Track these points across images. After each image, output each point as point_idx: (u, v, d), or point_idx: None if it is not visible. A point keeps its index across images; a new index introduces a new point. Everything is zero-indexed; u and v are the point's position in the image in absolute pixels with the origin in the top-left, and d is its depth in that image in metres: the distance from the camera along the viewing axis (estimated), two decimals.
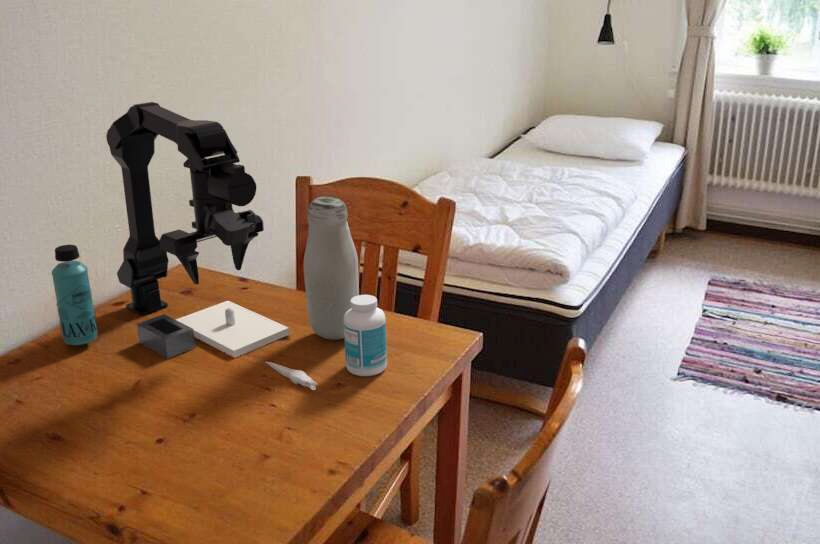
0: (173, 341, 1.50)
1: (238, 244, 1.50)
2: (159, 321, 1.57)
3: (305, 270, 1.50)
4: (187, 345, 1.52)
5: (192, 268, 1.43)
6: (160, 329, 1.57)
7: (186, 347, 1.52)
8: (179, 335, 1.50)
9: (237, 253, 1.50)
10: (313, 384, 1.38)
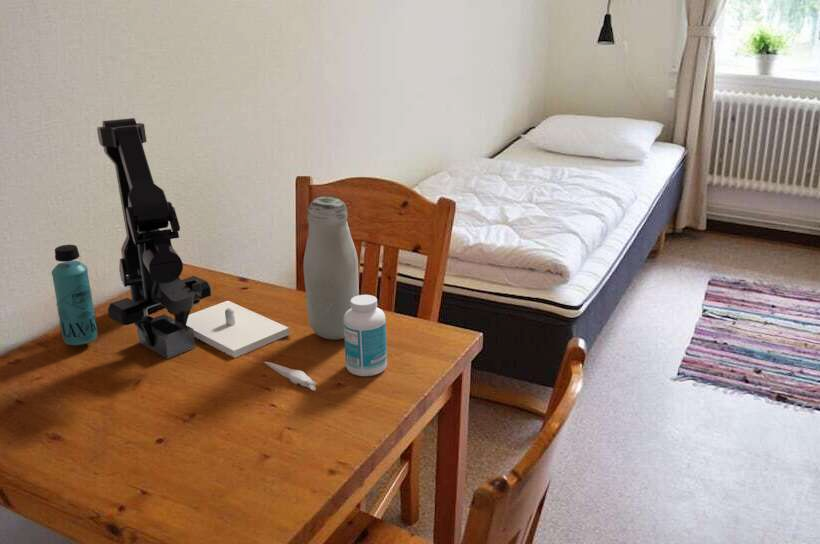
0: (173, 341, 1.50)
1: None
2: (159, 321, 1.57)
3: (305, 270, 1.50)
4: (187, 345, 1.52)
5: (147, 332, 1.50)
6: (160, 329, 1.57)
7: (186, 347, 1.52)
8: (179, 335, 1.50)
9: (179, 319, 1.56)
10: (313, 384, 1.38)
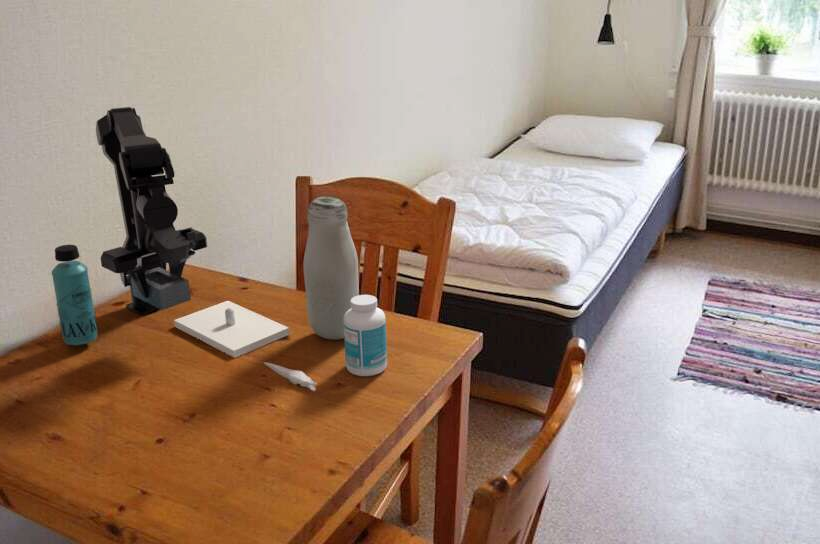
0: (168, 292, 1.46)
1: (175, 262, 1.51)
2: (153, 273, 1.53)
3: (305, 270, 1.50)
4: (182, 297, 1.49)
5: (141, 282, 1.46)
6: (155, 282, 1.54)
7: (181, 299, 1.49)
8: (173, 285, 1.47)
9: (174, 271, 1.52)
10: (313, 384, 1.38)
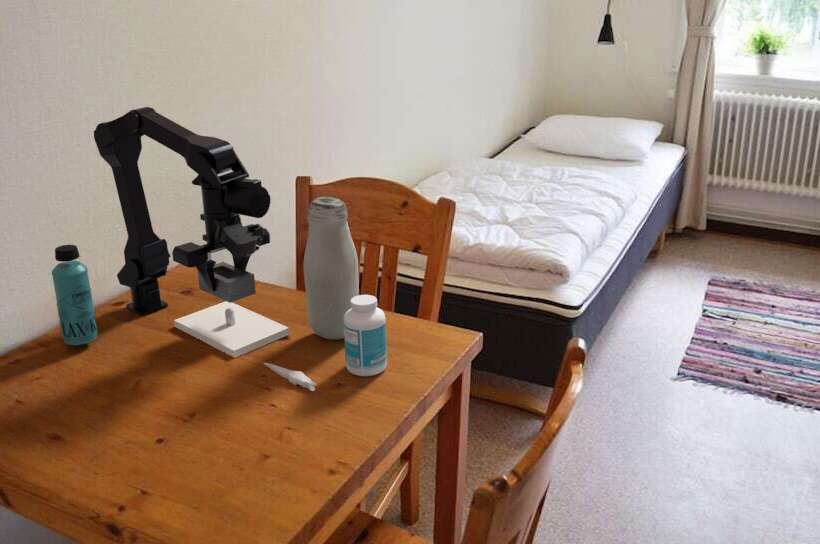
0: (235, 285, 1.52)
1: (240, 257, 1.57)
2: (219, 268, 1.59)
3: (305, 270, 1.50)
4: (248, 290, 1.55)
5: (209, 276, 1.52)
6: (219, 276, 1.60)
7: (247, 292, 1.55)
8: (240, 279, 1.53)
9: (239, 266, 1.58)
10: (312, 385, 1.38)
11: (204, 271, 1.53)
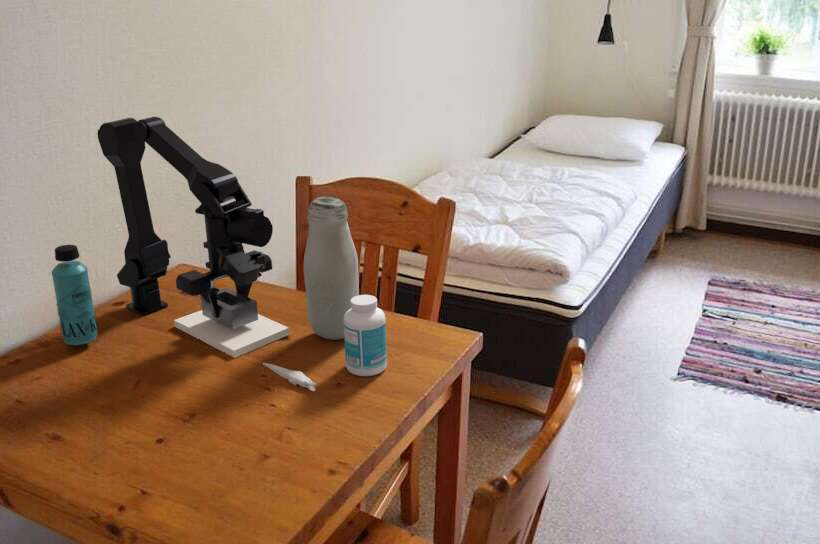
0: (238, 312, 1.54)
1: None
2: (222, 294, 1.61)
3: (305, 270, 1.50)
4: (250, 317, 1.57)
5: (213, 303, 1.54)
6: (222, 302, 1.62)
7: (250, 319, 1.57)
8: (243, 306, 1.55)
9: (241, 292, 1.60)
10: (312, 385, 1.38)
11: (207, 298, 1.55)
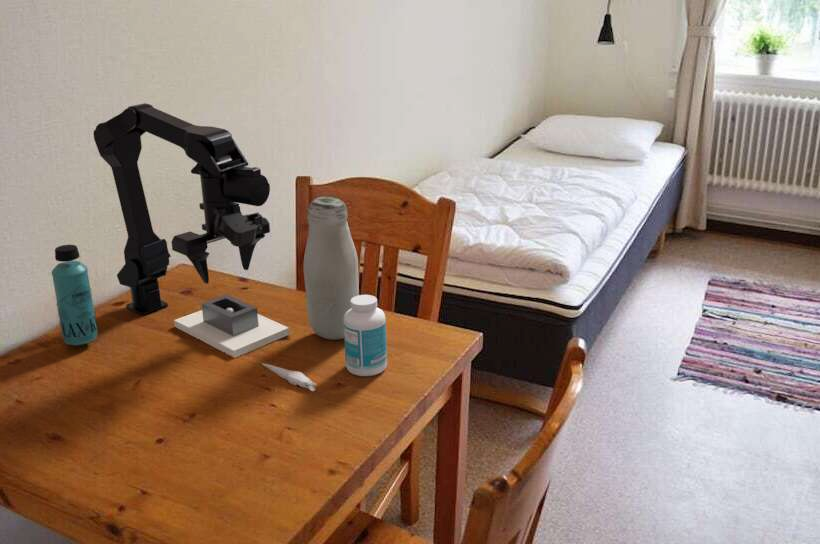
0: (238, 319, 1.55)
1: (246, 245, 1.58)
2: (222, 301, 1.62)
3: (305, 270, 1.50)
4: (251, 323, 1.57)
5: (202, 268, 1.50)
6: (223, 309, 1.62)
7: (250, 325, 1.57)
8: (244, 313, 1.55)
9: (245, 254, 1.58)
10: (312, 385, 1.38)
11: (197, 263, 1.51)
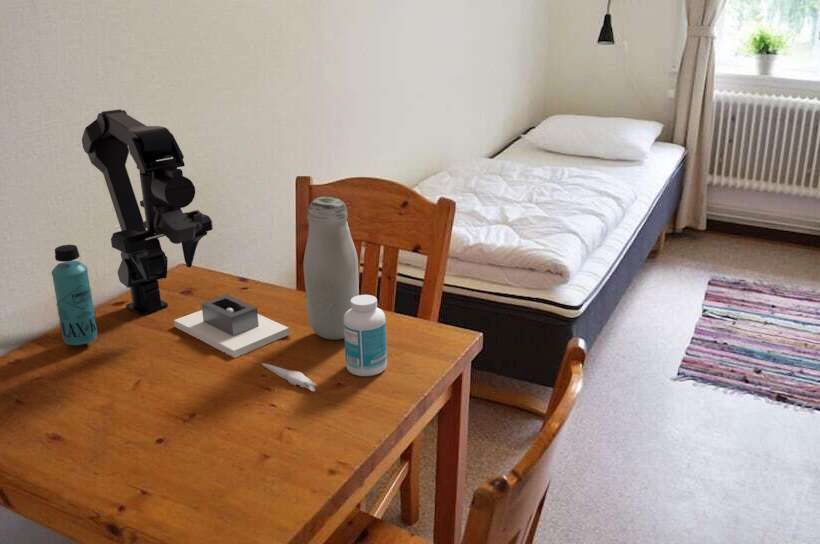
0: (238, 319, 1.55)
1: (188, 242, 1.58)
2: (222, 301, 1.62)
3: (305, 270, 1.50)
4: (251, 323, 1.57)
5: (142, 265, 1.51)
6: (223, 309, 1.62)
7: (250, 325, 1.57)
8: (244, 313, 1.55)
9: (187, 251, 1.59)
10: (312, 385, 1.38)
11: (137, 260, 1.52)
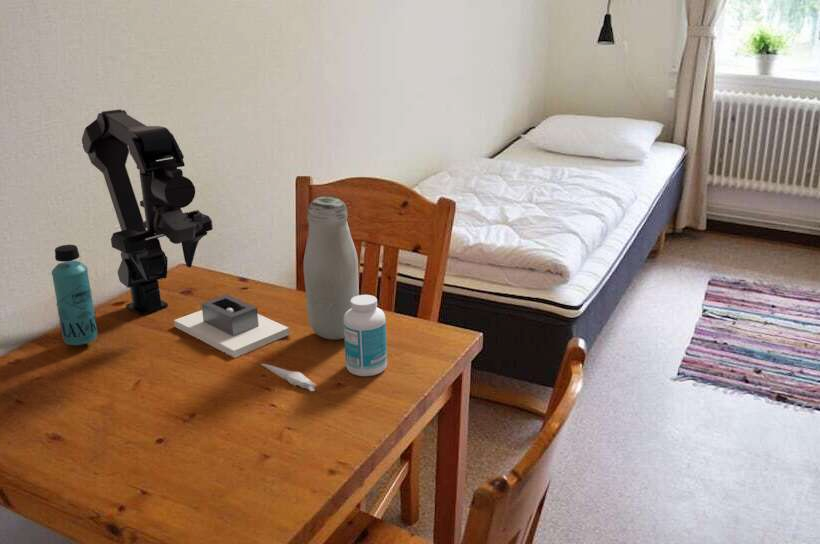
0: (238, 319, 1.55)
1: (188, 242, 1.58)
2: (222, 301, 1.62)
3: (305, 270, 1.50)
4: (251, 323, 1.57)
5: (142, 265, 1.51)
6: (223, 309, 1.62)
7: (250, 325, 1.57)
8: (244, 313, 1.55)
9: (187, 251, 1.59)
10: (312, 385, 1.38)
11: (137, 260, 1.52)
